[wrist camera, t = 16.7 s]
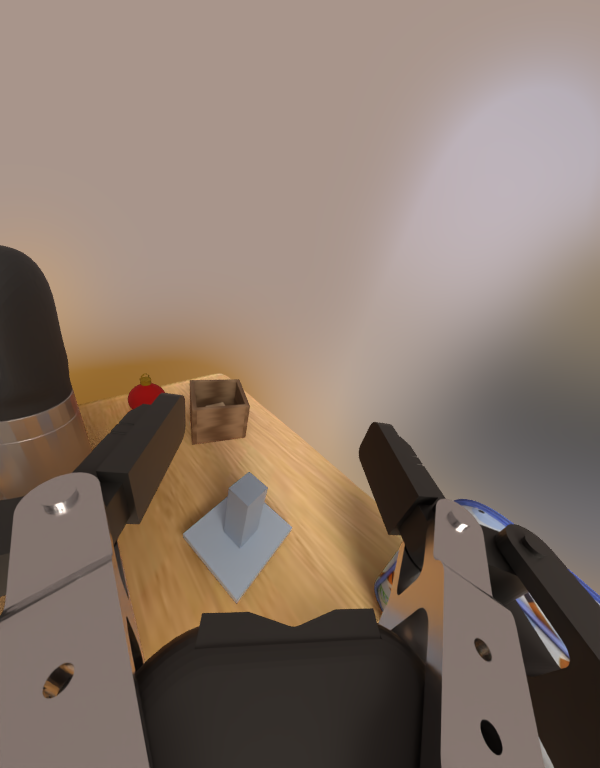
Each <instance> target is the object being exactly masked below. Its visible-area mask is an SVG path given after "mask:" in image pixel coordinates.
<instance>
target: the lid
mask: <svg viewBox="0 0 600 768" xmlns="http://www.w3.org/2000/svg"><path fill="white" fill-rule="evenodd" d="M267 489H268V487H266V486H265V485H264V484H263V483H262V482H261V481H259V480H258V479H257V478H256V477H255V476H254V475H252V474H251V473H250V472H248V473H247V474H246V475H245V476H243V477H242V478H241V479H240V480H238V481H237V482H236V483H235V484H233V485H232V486H231V487H230V488H229V491H228V497H226V498H225V499H224V500H223V501H222V502H220V503H219V504H218V505H217V506H216V507H214V508H213V509H212V510H211V511H210V512H208V513H207V514H206V515H205V516H204V517H202V518H201V519H200V520H199V521H198V522H196V523H195V524H194V525H193V526H192V527H190V528H189V529H188V530H187V531H186V532H184V533H183V538H184V539H185V540H186V542H187V543H188V544H189V545H190V547H191V548H192V549H193V550H194V552H195V553H196V554H197V555H198V557H199V558H200V559H201V560H202V562H203V563H204V564H205V565H206V567H207V568H208V569H209V570H210V571H211V573H212V574H213V575H214V576H215V578H216V579H217V580H218V581H219V583H220V584H221V585H222V586H223V588H224V589H225V590H226V591H227V593H228V594H229V595H230V596H231V598H232V599H233V600H234V601H235V603H236V604H237V603H238V601H239V600H240V599H241V597H242V596H243V594H244V593H245V592H246V590H247V589H248V588H249V586H250V585H251V584H252V582H253V581H254V580H255V578H256V577H257V576H258V574H259V573H260V572H261V570H262V569H263V568H264V566H265V565H266V564H267V562H268V561H269V560H270V558H271V557H272V556H273V554H274V553H275V552H276V550H277V549H278V548H279V546H280V545H281V544H282V542H283V541H284V540H285V538H286V537H287V536H288V534H289V533H290V532H291V529H292V527H291V526H290V525H289V524H288V523H287V522H286V521H284V520H283V519H282V518H281V517H280V516H279V515H278V514H277V513H276V512H274V511H273V510H272V509H271V508H270V507H269V506H268V505H267V504H266V503H265V502H264V501H265V497H266V493H267Z"/></svg>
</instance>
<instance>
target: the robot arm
mask: <svg viewBox="0 0 600 768" xmlns="http://www.w3.org/2000/svg"><path fill="white" fill-rule="evenodd" d="M184 433H185V398H184V396H183V395H176V394H168V393H161V394H159V396H158V397H157V398H156V399H155V400H154V402H153V403H152V404H151V405H149V404H142V405H140V406H138V407H137V408H135V409H133V410H131V411H129V412H128V413H127V414H126V415H125V416H124V417H123V419H122V420H121V421H120V422H119V424H117V425H116V426H115V427H114V428H113V429H112V430H111V433H109V434H108V435H107V436H106V437H105V438H104V439H103V440H102V441H101V442H100V443H99V444H98V445H97V446H96V447H95V449H94V450H93V451H92V449H91V446H90V443H89V439H88V436H87V433H86V430H85V427H84V423H83V420H82V417H81V414H80V411H79V407H78V404H77V401H76V398H75V395H74V392H73V389H72V385H71V382H70V378H69V369H68V359H67V355H66V351H65V347H64V343H63V340H62V335H61V331H60V326H59V321H58V316H57V312H56V307H55V303H54V299H53V295H52V292H51V290H50V287H49V284H48V282H47V280H46V278H45V276H44V274H43V272H42V271H41V270H40V268H39V267H38V265H37V264H36V263H35V262H34V261H33V260H32V259H31V258H29V257H28V256H27V255H25V254H24V253H22V252H20V251H18V250H16V249H13V248H9V247H6V246H1V245H0V597H1V596H4V595H6V601H5V607H4V610H3V612H2V614H1V615H0V768H545V766H544V761H543V756H542V751H541V747H540V742H539V739H540V741H541V743H542V745H543V747H544V749H545V751H546V753H547V755H548V757H549V759H550V761H551V763H552V764H553V766H554V768H600V605H599V604H598V603H597V602H596V600H595V599H594V598H593V597H592V596H591V595H590V594H589V592H588V591H587V590H586V589H585V588H584V587H583V586H582V584H581V583H580V582H579V581H578V580H577V579H576V577H575V576H574V575H573V574H572V573H571V572H570V571H569V569H567V567H566V566H565V565H564V564H563V563H562V561H561V560H560V559H559V558H558V557H557V556H556V555H555V553H554V552H553V551H552V550H551V549H550V548H549V547H548V546H547V545H546V544H545V543H544V542H543V541H542V540H541V539H540V538H539V537H537V536H536V535H535V534H533V533H532V532H530V531H529V530H527V529H525V528H523V527H521V526H519V525H515V524H509V525H507V526H506V527H505V528H504V529H503V530H501V531H500V532H499V531H497V530H494V529H491V528H489V527H486V526H483V525H481V524H479V523H478V521H477V520H476V519H475V517H474V516H473V515H472V514H471V513H470V512H469V511H468V510H467V509H465V508H464V507H463V506H461V505H460V504H458V503H456V502H454V501H452V500H449V499H446V498H445V497H444V496H443V494H442V492H441V491H440V490H439V488H438V487H437V485H436V484H435V482H434V481H433V479H432V478H431V476H430V475H429V473H428V472H427V470H426V469H425V467H424V466H422V463H421V461H420V460H419V458H417V455H416V454H415V452H414V451H413V449H412V448H411V446H410V445H409V444H408V443H407V442H406V441H404V440H403V439H402V438H401V437H399V435H398V434H397V432H396V431H395V429H394V428H393V426H392V425H390V424H385V423H378V422H373V423H372V424H371V425H370V427H369V429H368V431H367V433H366V435H365V437H364V439H363V441H362V443H361V445H360V448H359V459H360V462H361V464H362V467H363V470H364V472H365V475H366V477H367V480H368V483H369V485H370V488H371V490H372V493H373V496H374V498H375V501H376V503H377V506H378V509H379V511H380V514H381V516H382V519H383V522H384V524H385V527H386V529H387V532H388V535H401V536H402V539H403V542H402V543H401V545H400V548H399V553H398V558H397V563H396V568H395V573H394V578H393V583H392V588H391V593H390V597H389V600H388V603H387V605H386V607H385V609H384V611H383V613H382V615H381V618H380V621H379V624H378V623H377V622H376V618H375V614H374V610H373V609H338V610H333V611H331V612H329V613H327V614H324V615H322V616H320V617H318V618H315V619H313V620H311V621H308V622H306V623H304V624H302V625H299V626H296V627H291V626H288V625H285V624H282V623H279V622H276V621H273V620H270V619H267V618H265V617H262V616H259V615H256V614H253V613H250V612H233V613H202V617H201V622H200V626H199V627H196V628H194V629H191V630H189V631H187V632H185V633H183V634H181V635H180V636H178V637H176V638H175V639H173V640H172V641H170V642H169V643H167V644H166V645H165V646H163V647H162V648H161V649H160V650H158V651H157V652H156V653H155V654H154V655H153V656H152V657H150V658H149V659H148V660H147V661H146V662H145V660H144V655H143V651H142V646H141V641H140V637H139V632H138V628H137V624H136V620H135V616H134V612H133V608H132V604H131V599H130V595H129V590H128V585H127V580H126V576H125V571H124V566H123V561H122V557H121V552H120V547H119V542H118V537H119V535H120V533H121V532H122V530H123V528H124V526H125V525H126V524H140V522H141V520H142V518H143V516H144V514H145V512H146V510H147V508H148V506H149V504H150V502H151V500H152V498H153V496H154V495H155V493H156V491H157V489H158V487H159V485H160V483H161V481H162V479H163V477H164V475H165V473H166V471H167V469H168V467H169V465H170V463H171V461H172V459H173V457H174V455H175V453H176V451H177V450H178V448H179V446H180V444H181V442H182V439H183V437H184ZM528 592H529V593H530V595H531V596H532V598H533V599H534V601H535V602H536V604H537V605H538V606H539V608H540V609H541V611H542V612H543V614H544V615H545V617H546V618H547V619H548V621H549V622H550V624H551V625H552V627H553V628H554V630H555V631H556V632H557V634H558V635H559V637H560V638H561V640H562V641H563V643H564V644H565V646H566V648H567V651H568V654H569V658H570V662H569V665H568V666H567V667H566V668H562V669H561V668H560V667H559V666H558V664H557V663H556V662H555V660H554V659H553V657H552V655H551V654H550V652H549V651H548V649H547V648H546V646H545V645H544V643H543V641H542V640H541V638H540V637H539V635H538V634H537V632H536V631H535V629H534V627H533V626H532V624H531V623H530V621H529V620H528V618H527V616H526V615H525V613H524V612H523V610H522V609H521V607H520V606H519V604H518V602H517V601H516V599H518V598H519V597H521V596H523V595H525V594H526V593H528Z"/></svg>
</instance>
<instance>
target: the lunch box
mask: <svg viewBox="0 0 600 768" xmlns="http://www.w3.org/2000/svg"><path fill="white" fill-rule="evenodd" d="M454 502H456V503H458V504H460V505H461V506H463V507H464V508H465V509H467V510H468V511H469V512H470V513H471V514H472V515H473V516H474V517H475V519H476V520H477V521H478V523H479V524H481V525H483V526H486V527H489V528H491V529H494V530H497V531H499V532H500V531H501V530H503V529H504V528H505V527H506V526H507V525H509V524H513V523H512V522H511V521H509V520H508V519H506V518H505V517H504V516H502V515H501V514H499V513H498V512H496V511H494V510H493V509H491V508H489V507H488V506H486V505H483V504H481V503H479V502H476V501H472V500H467V499H458V500H454ZM398 553H399V550H398V551H397V552H396V553H395V555H394V556H393V558H392V559H391V560H390V562H389V563H388V564H387V566H386V567H385V569H384V570H383V571H382V573H381V574H380V575H379V577H378V578H377V580H376V582H375V586H374V590H375V595H376V598H377V601H378V603H379V605H380V607H381V609H382V611H384V609H385V607H386V605H387V603H388V600H389V597H390V593H391V588H392V583H393V578H394V573H395V568H396V563H397V558H398ZM569 571H570V570H569ZM570 572H571V571H570ZM571 573H572V574H573V575H574V576H575V577H576V579H577V580H578V581H579V582H580V583H581V584H582V586H583V587H584V588H585V589H586V590H587V591H588V592H589V594H590V595H591V596H592V597H593V598H594V599H595V600H596V602H597V603H598V604H599V605H600V596H599V595H598V594H597V593H595V592H594V591H593V590H592V589H591V588H590V587H589V586H588V585H586V584H585V583H584V582H583V581H582V580H581V579H579V578H578V577H577V576H576V575H575V574H574V573H573V572H571ZM516 601H517V602H518V604H519V606H520V607H521V609H522V610H523V612H524V613H525V615H526V616H527V618H528V620H529V621H530V623H531V624H532V626H533V627H534V629H535V631H536V632H537V634H538V635H539V637H540V638H541V640H542V641H543V643H544V645H545V646H546V648H547V649H548V651H549V652H550V654H551V655H552V657H553V659H554V660H555V662H556V663H557V664H558V666H559V667H560V668H561V669H562V668H566V667H567V666H568V665H569V662H570V658H569V654H568V651H567V648H566V646H565V644H564V643H563V641H562V640H561V638H560V637H559V635H558V634H557V632H556V631H555V630H554V628H553V627H552V625H551V624H550V622H549V621H548V619H547V618H546V617H545V615H544V614H543V612H542V611H541V609H540V608H539V606H538V605H537V604H536V602H535V601H534V599H533V598H532V596H531V595H530V593H529V592H528V593H526V594H525V595H523V596H521V597H519V598H518V599H516ZM539 742H540V747H541V751H542V756H543V761H544V766H545V768H554V766H553V764H552V763H551V761H550V759H549V757H548V755H547V753H546V751H545V749H544V747H543V745H542V743H541V741H540V739H539Z"/></svg>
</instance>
